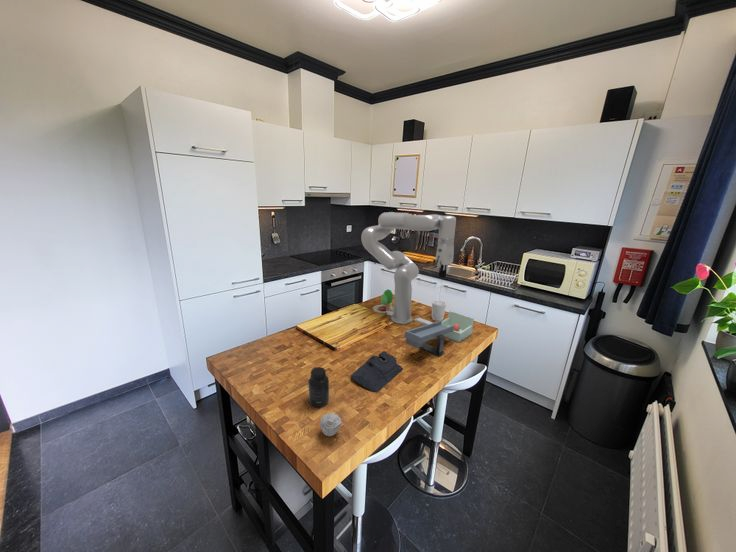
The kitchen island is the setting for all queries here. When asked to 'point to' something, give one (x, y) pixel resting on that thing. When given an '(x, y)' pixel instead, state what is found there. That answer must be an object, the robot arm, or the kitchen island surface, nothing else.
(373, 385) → the folded navy shirt
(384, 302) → the cactus trinket dish
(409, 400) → the kitchen island surface
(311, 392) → the supplement bottle
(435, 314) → the white cup
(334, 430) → the gray yarn ball
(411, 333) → the lever
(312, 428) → the kitchen island surface
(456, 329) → the ball
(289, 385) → the kitchen island surface
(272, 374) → the kitchen island surface
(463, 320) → the bin
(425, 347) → the lever stand
